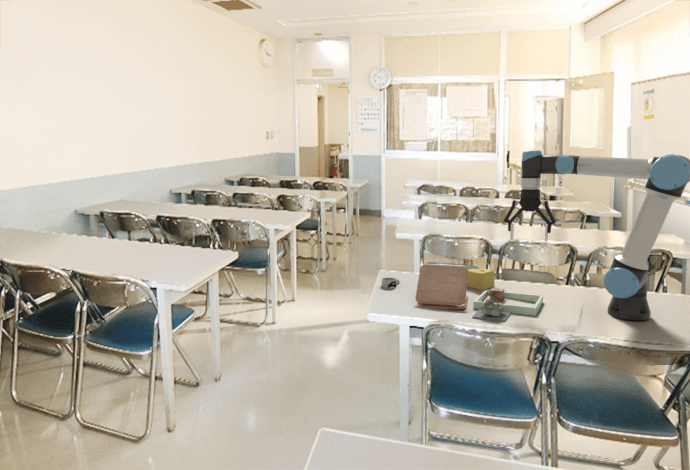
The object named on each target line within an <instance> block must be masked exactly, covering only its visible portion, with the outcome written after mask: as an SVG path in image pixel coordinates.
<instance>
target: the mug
mask: <svg viewBox="0 0 690 470" xmlns="http://www.w3.org/2000/svg"><path fill="white" fill-rule="evenodd" d="M398 283H399V284H401V283H400V279H398V278H396V277H382V278H381V286H382V288H386V289H395V288H397V284H398Z"/></svg>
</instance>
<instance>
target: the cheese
mask: <svg viewBox="0 0 690 470" xmlns="http://www.w3.org/2000/svg"><path fill="white" fill-rule="evenodd" d="M495 273H496V272H495V270H494V269H493V270H492V269H489V268H479V269H478V268H468V279H467V287H469V288H473V289H476V290H479V291H485V290H489V289H490V288H495V276H496V275H495Z"/></svg>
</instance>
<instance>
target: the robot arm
mask: <svg viewBox="0 0 690 470" xmlns="http://www.w3.org/2000/svg"><path fill="white" fill-rule="evenodd" d="M521 156H522V157H521V177H520V187H521V189H520V200H516V199H513V200H512V201H511V202H512V203H511V207H510V208H509V210H508V212H507V213H506V216H505V217H504V219H503V222H504V223H507V231H508V232H510V238H509V240H511V241H512V240H514V234H515V233H514V228H515V226H514V225H515V223H513V222H514V221H515V220H516V219H517V218H518V217H519V216H520V214H521V213H523V212H532V213H533V212H536V213H537V214H538V215H539V217H541V219H543V221H544V222H545V228H544V229H545V230H544V242H548V238H549V234H551V232H552V225H555V224H556V223H557V220H556V219H555V217H554V215H553V212H552V210H551V208H550V206H549V201H548V200H544V201H541V189H540V188H541V187H542V186H541V185H542V184H541V183H542V182H541V181H542V179H541V178H542V175H580V176H582V175H584V176H595V177H596V176H597V177H609V178H623V179H624V178H625V179H634V180H647V181H646V183H645V186H644V189H645V191H646V195H645V198H644V200H643V202H642V204H641V207H640V210H639V212H638V214H637V215H636V216H637V217H635V221H634V223H633V225H632V228H631V230H630V233H629V235H628V237H627V239H626V242H625V244H624V246H623V248H622V251H621V253H620V254H617V255H615V256H614V258H613V260H612V263H611V265H610V268H609V269H608V271H606V272H605V274H604V277H603V287H604V288H605V290H606V291H607V293H608V294H610V295H611V296H612V297H611V299H610V301H609V304H608V306H607V314H608V315H609V316H612V317H613V318H617V319H621V320H628V321H646V320H650V319H651V313H652V312H651V308H650V306H649V302H648V299H647V298H648V297H647V296H648V295H647V294H648V280H649V269H650V266H649V264H650V263H649V261H648V258H649V257H650V254H651V252H652V250H653V248H654V245H655V243H656V241H657V238H658V236H659V234H660V232H661V230H662V227H663V225H664V223H665V220H666V219H667V216H668V214H669V212H670V209H671V207H672V205H673V203H674V202H675V201H676V200H679V199H680V198H681V197H682V195H683V193H684V191H685V189H686V186H687V184H688V183H689V182H690V159H689V158H688V157H685V156H683V155H679V154H665V155H663V156H653V157H652V158H645V159H644V158H628V157H610V156H609V157H608V156H592V155H591V156H587V155H572V154H549V155H545V154H543V152H542V150H524V151H523V152H522V155H521ZM518 205H520V208H519V210H518V211H517V212H516V213H515V214H514V215H513V216H512V213H513V212H514V210H515V208H516V207H517V206H518ZM541 205H542V206H543V207H544V208H545V211H546V213H547V215H548V216H549V218H548V217H547V216H546V215H545V213H544V212H543V211H542V209H540V206H541ZM511 216H512V217H511ZM510 217H511V218H510Z"/></svg>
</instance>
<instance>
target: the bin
mask: <svg viewBox="0 0 690 470" xmlns="http://www.w3.org/2000/svg"><path fill="white" fill-rule="evenodd" d="M490 290H491V289H485V290H483V292H482V293H481V294H480V295H479V296H478V297H476V299H474V300H473V302H472V303H473V304H472V305H473V307H472V308H473V309H475V310H482V309H481V308H482V307H481V306H482V305H483V304H484V303H485V302H486V301H483V300H484V299H485V298H486V297H487V296H488V295H489V296H490ZM504 298H508V299H515V300H521V301H527V302H533V303H535V304H534V306H533V307H532V306H527V305H519V304H518V305H516V304H509V303H508V304H506V303H502V304H503V305H505V306H504V311H503V312H506V313H510V314H515V315H517V314H518V315H527V316H536V315H537V314H538V313H539V310H540V309H541V307H542V305H543V303H544V295H540V294H531V293H522V292H520V293H519V292H510V291H509V292H508V291H504ZM497 303H498V302H497ZM497 303H496V302H494V305H497Z"/></svg>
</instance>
